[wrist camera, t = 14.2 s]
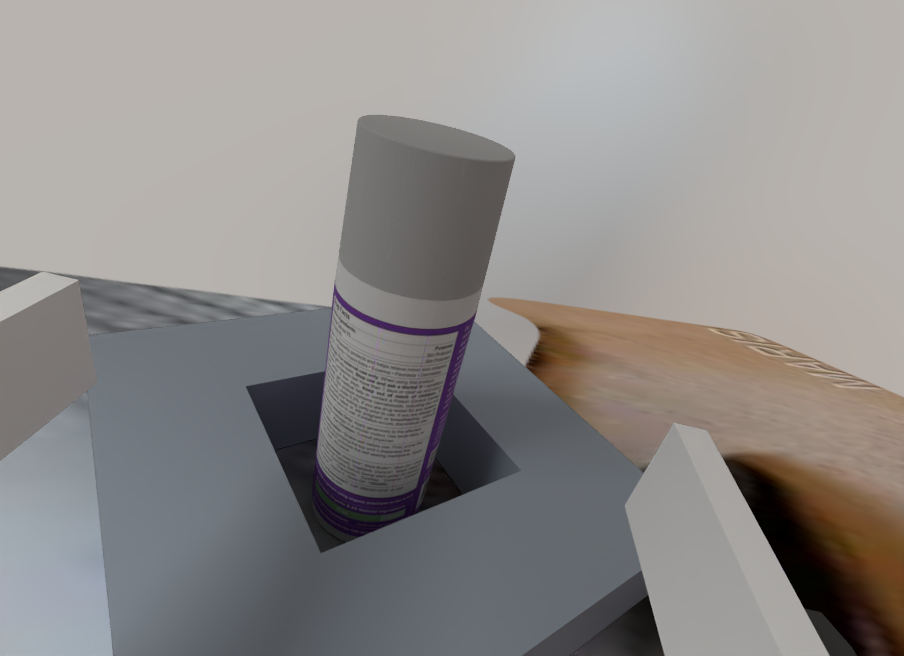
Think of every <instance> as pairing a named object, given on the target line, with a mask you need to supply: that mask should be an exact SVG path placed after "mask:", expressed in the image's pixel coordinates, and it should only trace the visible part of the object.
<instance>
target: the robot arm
mask: <svg viewBox="0 0 904 656" xmlns="http://www.w3.org/2000/svg"><path fill="white" fill-rule="evenodd" d="M96 383H97V378H96V372H95V367H94V361H93V356H92V350H91V345H90V339H89V334H88V328H87V323H86V317H85V312H84V306H83V301H82V296H81V290H80V285H79V280H76V279H72V278H68V277H63V276H59V275H55V274H51V273H47V272H41V273H38V274H36V275H34V276H32V277H30V278H28V279H26V280H24V281H21V282H19V283H17V284H15V285H13V286H11V287H9V288H7V289H4V290H2V291H0V461H1V460H2V459H3V458H5V457H6V456H7V455H8V454H10V453H11V452H12V451H13V450H14V449H16V448H17V447H18V446H19V445H21V444H22V443H23V442H24V441H26V440H27V439H28V438H29V437H31V436H32V435H33V434H34V433H36V432H37V431H38V430H39V429H41V428H42V427H43V426H44V425H45V424H47V423H48V422H49V421H50V420H52V419H53V418H54V417H55V416H57V415H58V414H59V413H60V412H62V411H63V410H64V409H65V408H67V407H68V406H69V405H70V404H71V403H73V402H74V401H75V400H76V399H78V398H79V397H80V396H81V395H83V394H84V393H85V392H86V391H88V390H89V389H90V388H91V387H93V386H94V385H95V384H96ZM625 509H626V513H627V517H628V520H629V524H630V528H631V532H632V535H633V539H634V543H635V547H636V550H637V554H638V558H639V562H640V565H641V569H642V573H643V577H644V580H645V584H646V588H647V591H648V595H649V599H650V603H651V606H652V610H653V614H654V618H655V621H656V625H657V629H658V633H659V636H660V640H661V644H662V648H663V651H664V655H665V656H857V655H856V654H855V652H854V650H853V648H852V647H851V646H850V645H849V644H848V643H847V641H846V640H845V639H844V638H843V637H842V636H841V635H840V633H839V632H838V631H837V630H836V629H835V628H834V627H833V625H832V624H831V623H830V622H829V621H828V620H827V619H826V617H825V616H824V615H823V614H822V613H821V612H817V611H812V610H808V609H804V608H803V606H802V604H801V602H800V600H799V598H798V597H797V595H796V593H795V591H794V589H793V587H792V586H791V584H790V582H789V580H788V578H787V576H786V574H785V573H784V571H783V569H782V567H781V565H780V563H779V562H778V560H777V558H776V556H775V554H774V552H773V550H772V549H771V547H770V545H769V543H768V541H767V539H766V538H765V536H764V534H763V532H762V530H761V528H760V526H759V525H758V523H757V521H756V519H755V517H754V515H753V514H752V512H751V510H750V508H749V506H748V504H747V502H746V501H745V499H744V497H743V495H742V493H741V491H740V490H739V488H738V486H737V484H736V482H735V480H734V479H733V477H732V475H731V473H730V471H729V469H728V467H727V466H726V464H725V462H724V460H723V458H722V456H721V455H720V453H719V451H718V449H717V447H716V445H715V443H714V442H713V440H712V438H711V436H710V434H709V432H708V431H707V430H703V429H699V428H695V427H691V426H687V425H683V424H678V423H673V425H672V427H671V428H670V430H669V432H668V433H667V435H666V437H665V438H664V440H663V442H662V443H661V445H660V447H659V448H658V450H657V452H656V454H655V455H654V457H653V459H652V460H651V462H650V464H649V465H648V467H647V469H646V470H645V472H644V474H643V475H642V477H641V479H640V480H639V482H638V484H637V485H636V487H635V489H634V490H633V492H632V494H631V496H630V497H629V499H628V501H627V502H626V504H625Z"/></svg>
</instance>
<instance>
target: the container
mask: <svg viewBox="0 0 904 656" xmlns="http://www.w3.org/2000/svg"><path fill="white" fill-rule="evenodd" d="M514 161H515V155H514V153H513V152H512V151H511V150H509V149H508V148H506V147H504V146H502V145H501V144H498V143H496V142H494V141H492V140H489V139H486V138H484V137H481V136H478V135H475V134H472V133H469V132H466V131H462V130H459V129H456V128H452V127H448V126H444V125H440V124H436V123H431V122H426V121H422V120H416V119H410V118H404V117H397V116H387V115H367V116H363V117H360V118H359V119H358V123H357V130H356V137H355V144H354V151H353V158H352V165H351V173H350V180H349V187H348V194H347V201H346V208H345V215H344V222H343V230H342V236H341V243H340V250H339V258H338V264H337V271H336V278H335V285H334V294H333V303H332V312H331V321H330V330H329V340H328V349H327V358H326V367H325V376H324V385H323V394H322V403H321V412H320V421H319V431H318V440H317V449H316V458H315V467H314V476H313V485H312V499H311V500H312V508H313V511H314V514H315V516H316V518H317V520H318V522H319V523H320V524H321V526H322V527H323V528H324V529H325V530H326V531H327V532H329V533H330V534H331V535H333V536H335V537H336V538H338V539H340V540H342V541H345V542H349V541H352V540H354V539H357V538H359V537H361V536H364V535H366V534H369V533H371V532H374V531H376V530H378V529H381V528H383V527H386V526H388V525H391V524H393V523H395V522H398V521H400V520H403V519H405V518H408V517H410V516H412V515H415V514H417V513H419V511H420V508H421V505H422V502H423V498H424V495H425V491H426V488H427V484H428V481H429V477H430V474H431V470H432V466H433V463H434V459H435V456H436V452H437V449H438V445H439V442H440V438H441V435H442V431H443V428H444V424H445V421H446V417H447V414H448V410H449V407H450V403H451V400H452V396H453V393H454V389H455V386H456V382H457V379H458V375H459V372H460V368H461V365H462V361H463V358H464V354H465V351H466V347H467V344H468V340H469V337H470V333H471V330H472V326H473V323H474V319H475V315H476V312H477V307H478V303H479V299H480V295H481V291H482V287H483V283H484V279H485V275H486V271H487V268H488V264H489V260H490V256H491V252H492V248H493V244H494V240H495V236H496V232H497V228H498V224H499V220H500V216H501V211H502V208H503V204H504V200H505V196H506V192H507V188H508V184H509V180H510V176H511V172H512V168H513V164H514Z"/></svg>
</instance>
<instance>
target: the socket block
mask: <svg viewBox="0 0 904 656" xmlns="http://www.w3.org/2000/svg"><path fill="white" fill-rule="evenodd" d="M331 312H332V308H328V309H319V310H310V311H301V312H292V313H283V314H275V315H266V316H257V317H248V318H239V319H230V320H221V321H212V322H203V323H194V324H185V325H176V326H168V327H159V328H150V329H141V330H132V331H123V332H114V333H105V334H96V335H89V339H90V345H91V350H92V356H93V361H94V367H95V372H96V378H97V383H96V384H95V385H94V386H93V387H91V388H90V389H89V390H88V391H87V395H88V405H89V415H90V425H91V435H92V445H93V456H94V466H95V476H96V486H97V496H98V506H99V516H100V526H101V536H102V546H103V556H104V567H105V577H106V587H107V597H108V607H109V617H110V627H111V637H112V647H113V656H570V655H571V654H572V653H574V652H575V651H576V650H577V649H579V648H580V647H581V646H583V645H584V644H585V643H587V642H588V641H589V640H590V639H592V638H593V637H594V636H596V635H597V634H598V633H599V632H601V631H602V630H603V629H605V628H606V627H607V626H608V625H610V624H611V623H612V622H614V621H615V620H616V619H618V618H619V617H620V616H621V615H623V614H624V613H625V612H627V611H628V610H629V609H630V608H632V607H633V606H634V605H636V604H637V603H638V602H640V601H641V600H642V599H643V598H645V597H646V596H647V595H648V591H647V588H646V584H645V580H644V577H643V573H642V569H641V565H640V562H639V558H638V554H637V550H636V547H635V543H634V539H633V535H632V532H631V528H630V524H629V520H628V517H627V513H626V509H625V504H626V502H627V501H628V499H629V497H630V496H631V494H632V492H633V490H634V489H635V487H636V485H637V484H638V482H639V480H640V479H641V477H642V475H643V474H644V473H643V472H642V471H641V470H640V469H639V468H638V467H636V466H635V465H634V464H633V463H632V462H631V461H630V460H629V459H628V458H626V457H625V456H624V455H623V454H622V453H621V452H620V451H619V450H617V449H616V448H615V447H614V446H613V445H612V444H611V443H610V442H608V441H607V440H606V439H605V438H604V437H603V436H602V435H601V434H600V433H598V432H597V431H596V430H595V429H594V428H593V427H592V426H591V425H589V424H588V423H587V422H586V421H585V420H584V419H583V418H582V417H581V416H579V415H578V414H577V413H576V412H575V411H574V410H573V409H572V408H570V407H569V406H568V405H567V404H566V403H565V402H564V401H563V400H562V399H560V398H559V397H558V396H557V395H556V394H555V393H554V392H553V391H551V390H550V389H549V388H548V387H547V386H546V385H545V384H544V383H543V382H541V381H540V380H539V379H538V378H537V377H536V376H535V375H534V374H532V373H531V372H530V371H529V370H528V369H527V368H526V367H525V366H524V365H522V364H521V363H520V362H519V361H518V360H517V359H515V357H513V356H512V355H511V354H510V353H509V352H508V351H507V350H506V349H504V348H503V347H502V346H501V345H500V344H499V343H498V342H497V341H496V340H494V339H493V338H492V337H491V336H490V335H489V334H488V333H487V332H485V331H484V330H483V329H482V328H481V327H480V326H479V325H478V324H477V323H475V322H474V323H473V326H472V330H471V333H470V337H469V340H468V344H467V347H466V351H465V354H464V358H463V361H462V365H461V368H460V372H459V375H458V379H457V382H456V386H455V389H454V393H453V396H452V400H451V403H450V407H449V410H448V414H447V417H446V421H445V424H444V428H443V431H442V435H441V438H440V442H439V445H438V449H437V452H436V456H435V458H436V459H437V461H438V462H439V463H440V465H441V466H442V467H443V469H444V470H445V471H446V473H447V474H448V475H449V477H450V478H451V479H452V481H453V482H454V483H455V485H456V486H457V487H458V489H459V490H460V491H461V493H462V494H463V495H461V496H459V497H456V498H454V499H451V500H449V501H446V502H444V503H442V504H439V505H437V506H434V507H432V508H429V509H427V510H425V511H422V512H420V513H417V514H415V515H412V516H410V517H408V518H405V519H403V520H400V521H398V522H395V523H393V524H391V525H388V526H386V527H383V528H381V529H378V530H376V531H374V532H371V533H369V534H366V535H364V536H361V537H359V538H357V539H354V540H352V541H349V542H347V543H344V544H342V545H340V546H337V547H335V548H332V549H330V550H327V551H325V552H323V553H321V552H320V550H319V548H318V546H317V544H316V541H315V539H314V537H313V535H312V532H311V530H310V528H309V526H308V524H307V521H306V519H305V517H304V515H303V513H302V510H301V508H300V506H299V504H298V501H297V499H296V497H295V495H294V493H293V490H292V488H291V486H290V484H289V481H288V479H287V477H286V475H285V473H284V470H283V468H282V466H281V464H280V462H279V459H278V457H277V455H276V453H275V450H276V449H279V448H283V447H287V446H290V445H294V444H298V443H302V442H305V441H309V440H313V439H316V438H318V431H319V421H320V412H321V403H322V394H323V385H324V376H325V367H326V358H327V349H328V340H329V330H330V321H331Z"/></svg>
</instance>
